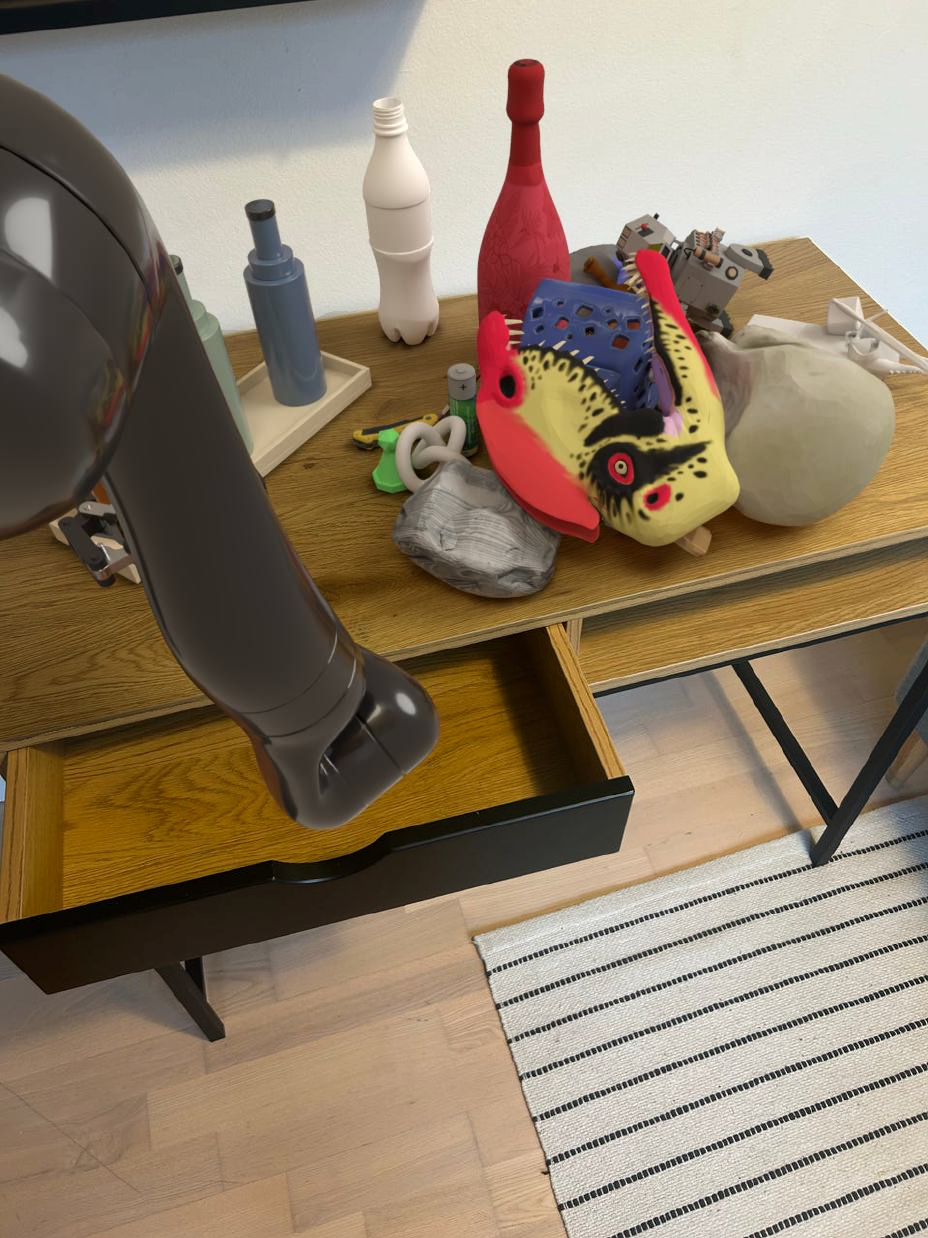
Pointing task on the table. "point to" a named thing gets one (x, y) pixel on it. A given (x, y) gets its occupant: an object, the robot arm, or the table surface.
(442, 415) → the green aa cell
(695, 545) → the sandal
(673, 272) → the figurine
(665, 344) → the toy
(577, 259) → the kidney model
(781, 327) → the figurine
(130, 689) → the table surface
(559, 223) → the wine bottle
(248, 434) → the grey-green bottle
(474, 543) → the decorative stone
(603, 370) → the flower pot
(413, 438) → the knot
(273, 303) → the slate-blue bottle
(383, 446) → the game piece
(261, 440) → the tray
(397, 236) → the water bottle
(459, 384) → the battery
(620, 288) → the toy figurine
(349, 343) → the table surface
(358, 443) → the utility knife
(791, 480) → the skull
